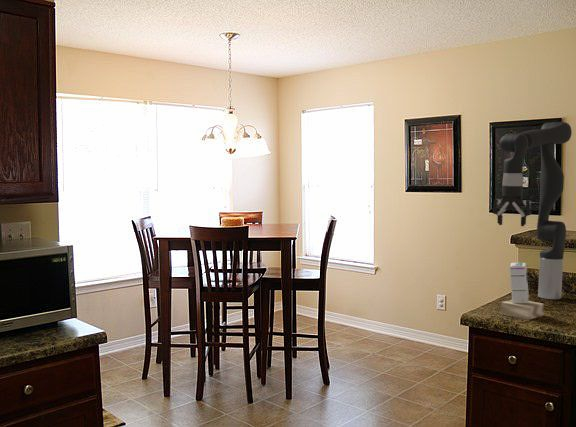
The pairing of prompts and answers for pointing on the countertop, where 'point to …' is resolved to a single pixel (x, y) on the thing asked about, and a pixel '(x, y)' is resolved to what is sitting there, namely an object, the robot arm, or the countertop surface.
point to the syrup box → (519, 282)
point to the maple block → (522, 309)
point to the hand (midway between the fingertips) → (511, 225)
